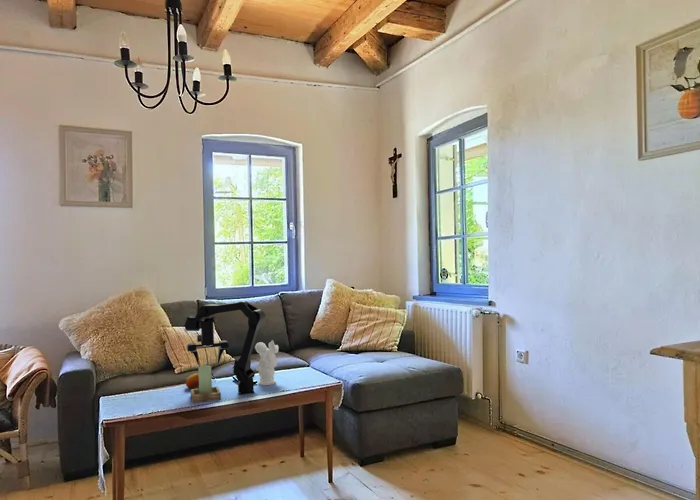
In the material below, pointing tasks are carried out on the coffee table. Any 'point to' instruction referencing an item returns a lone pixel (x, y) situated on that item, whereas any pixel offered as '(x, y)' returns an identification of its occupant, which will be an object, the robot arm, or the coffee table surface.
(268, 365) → the cherub figurine
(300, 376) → the coffee table surface
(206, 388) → the green rounded tapered cylinder
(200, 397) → the tray
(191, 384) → the fruit
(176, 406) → the coffee table surface
